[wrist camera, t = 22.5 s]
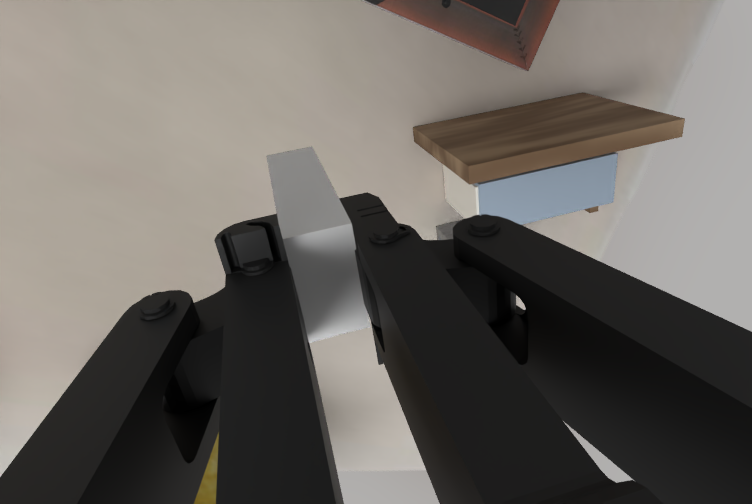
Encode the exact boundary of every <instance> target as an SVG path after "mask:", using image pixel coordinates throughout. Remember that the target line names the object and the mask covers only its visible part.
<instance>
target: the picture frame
mask: <svg viewBox="0 0 752 504" xmlns="http://www.w3.org/2000/svg"><path fill="white" fill-rule="evenodd" d="M361 1H364V2H366V3H368V4H370V5H373V6H375V7H377V8H380V9H382V10H384V11H387V12H389V13H391V14H394V15H396V16H398V17H401V18H403V19H405V20H408V21H410V22H412V23H415V24H417V25H419V26H422V27H424V28H426V29H429V30H431V31H433V32H436V33H438V34H440V35H442V36H445V37H447V38H449V39H452V40H454V41H456V42H459V43H461V44H463V45H466V46H468V47H470V48H473V49H475V50H477V51H480V52H482V53H484V54H487V55H489V56H491V57H494V58H496V59H498V60H501V61H503V62H505V63H508V64H510V65H512V66H514V67H517V68H519V69H522V70H527V71H528V70H529V68H530V66H531V64H532V61H533V59H534V57H535V55H536V52H537V50H538V48H539V46H540V43H541V41H542V39H543V37H544V34H545V32H546V30H547V28H548V25H549V23H550V21H551V19H552V16H553V14H554V12H555V10H556V7H557V5H558V3H559V1H560V0H361Z"/></svg>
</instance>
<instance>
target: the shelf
mask: <svg viewBox="0 0 752 504" xmlns="http://www.w3.org/2000/svg"><path fill="white" fill-rule="evenodd" d="M684 121H685V119H684V118H680V117H676V116H672V115H669V114H665V113H661V112H657V111H653V110H649V109H645V108H641V107H637V106H633V105H629V104H625V103H622V102H618V101H614V100H610V99H606V98H602V97H598V96H594V95H590V94H586V93H578V94H573V95H568V96H564V97H559V98H554V99H549V100H544V101H539V102H534V103H529V104H524V105H519V106H515V107H510V108H505V109H500V110H495V111H490V112H485V113H480V114H475V115H470V116H466V117H461V118H456V119H451V120H446V121H441V122H436V123H431V124H426V125H421V126H417V127H413V133H414V142H415V143H417V144H418V145H419V146H420V147H422V148H423V149H424V150H426V151H427V152H428V153H429V154H431V155H432V156H433V157H435V158H436V159H437V160H438V161H440V162H441V163H442V164H443V165H445V166H446V167H447V168H449V169H450V170H451V171H452V172H454V173H455V174H456V175H458V176H459V177H460V178H461V179H463V180H464V181H465V182H467V183H468V184H469V185H470V184H475V183H479V182H484V181H488V180H492V179H497V178H501V177H506V176H510V175H514V174H519V173H523V172H528V171H532V170H537V169H541V168H545V167H550V166H554V165H559V164H563V163H568V162H572V161H576V160H581V159H585V158H590V157H594V156H599V155H603V154H607V153H612V152H616V151H621V150H625V149H630V148H634V147H638V146H643V145H647V144H652V143H656V142H660V141H665V140H669V139H674V138H678V137H682V134H683V127H684ZM584 210H586V211H587V212H589V213H592V212H596V211H598V206H596V207H592V208H588V209H584Z"/></svg>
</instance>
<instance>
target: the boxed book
mask: <svg viewBox="0 0 752 504" xmlns="http://www.w3.org/2000/svg"><path fill="white" fill-rule="evenodd" d="M617 157H618V153H616V152H612V153H607V154H603V155H599V156H594V157H590V158H585V159H581V160H576V161H572V162H568V163H563V164H559V165H554V166H550V167H545V168H541V169H537V170H532V171H528V172H523V173H519V174H514V175H510V176H506V177H501V178H497V179H492V180H488V181H484V182H479V183H475V184H470V185H469V184H468V183H467V182H465V181H464V180H463V179H461V178H460V177H459V176H458V175H456V174H455V173H454V172H452V171H451V170H450V169H449V168H447V167H446V166H445V165H443V173H444V186H445V199H446V201H447V202H448V203H449V204H450V205H451V206H452V207H453V208H454V209H455V210H456V211H457V212H458V213H459V214H460V215H461V216H462V217H463V218H465V219H466V218H470V217H472V216H474V215H480V216H481V214H488V215H491V216H500V217H503V218H506V219H509V220H511V221H513V222H515V223H518V224H520V225H522V224H526V223H530V222H534V221H538V220H542V219H546V218H551V217H555V216H559V215H563V214H567V213H571V212H575V211H579V210H584V209H588V208H592V207H596V206H600V205H604V204H608V203H612V202H613V200H614V189H615V178H616V168H617Z"/></svg>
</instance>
